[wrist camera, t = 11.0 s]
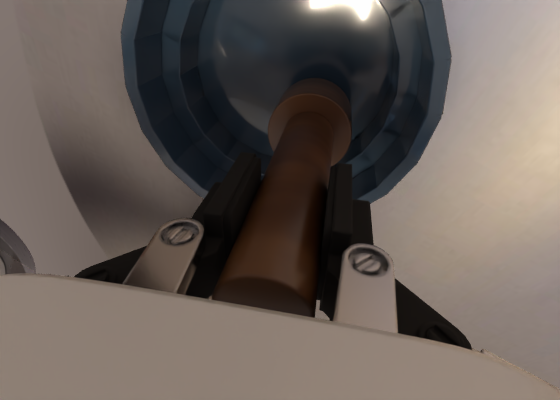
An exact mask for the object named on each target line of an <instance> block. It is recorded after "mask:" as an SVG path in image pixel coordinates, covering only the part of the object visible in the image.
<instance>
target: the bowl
mask: <svg viewBox="0 0 560 400" xmlns="http://www.w3.org/2000/svg"><path fill="white" fill-rule="evenodd" d="M121 44H122V55H123V66H124V77H125V85H126V89H127V92H128V95H129V97H130V100H131V103H132V105H133V108H134V111H135V114H136V116H137V119H138V122H139V124H140V127H141V130H142V132H143V133H144V135H145V136H146V138H147V139H148V141H149V142H150V143H151V145H152V146H153V148H154V149H155V151H156V152H157V154H158V155H159V157H160V158H161V160H162V161H163V162H164V164H165V165H166V167H168V169H170V170H171V171H172V172H173V173H174V174H175V175H176V176H177V177H178V178H179V179H181V180H182V181H183V182H184V183H185V184H186V185H187V186H188V187H189V188H191V189H192V190H193V191H194V192H195V193H196V194H197V195H199V196H200V197H202V198H205V197H206V195H207V194H208V192H209V191H210V189H211V188H212V186H213V185H214V183H215V182H222V181H223V180H224V178H225V177H226V175H227V173H228V172H229V170H230V169H231V167H232V165H233V164H234V162H235V161H236V159H237V157H238V156H239V154H240V153H241V152H246V153H255V154H256V157H257V158H261V181H262V179H263V177H264V174H265V172H266V170H267V167H268V165H269V163H270V161H271V158H272V156H273V154H274V152H273V150H272V148H271V146H270V143H269V139H268V124H269V120H270V117H271V115H272V113H273V111H274V110H275V108H276V106H277V104H278V103H279V101H280V99H281V97H282V96H283V94H284V93H285V91H286V90H287V89H288V88H289V87H290V86H292V85H293V84H295V83H296V82H298V81H301V80H304V79H308V78H321V79H325V80H328V81H330V82H332V83H334V84H336V85H337V86H338V87H339V88H341V89H342V91H343V92H344V93H345V94H346V96H347V98H348V100H349V102H350V106H351V114H352V136H351V142H350V146H349V148H348V150H347V152H346V154H345V155H344V156H343V158H342V159H341V160H340V161H339V162H337V163H343V164H352V199H357V200H365V201H369V202H370V204H371V203H372V202H374V201H376V200H378V199H380V198H381V197H383V196H385V195H387V194H388V193H389V192H390V191H391V190H392V189H393V187H394V186H395V185H396V184H397V183H398V182H399V181H400V180H401V179H402V178H403V177H404V176H405V175H406V174H407V173H408V172H409V171H410V170H411V169H412V168H413V167H414V166H415V165H416V164H417V163H418V161H419V160H420V158H421V156H422V154H423V152H424V150H425V148H426V146H427V144H428V142H429V140H430V139H431V137H432V135H433V133H434V131H435V129H436V127H437V125H438V123H439V121H440V119H441V117H442V116H441V115H442V114H443V109H444V103H445V97H446V90H447V84H448V78H449V72H450V66H451V57H452V56H451V50H450V44H449V38H448V33H447V27H446V21H445V15H444V9H443V4H442V0H127V5H126V10H125V15H124V19H123V24H122V29H121ZM337 163H336V164H335V165H333V166H336V167H337ZM330 170H331V167H330Z"/></svg>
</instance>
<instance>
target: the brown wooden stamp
mask: <svg viewBox="0 0 560 400" xmlns="http://www.w3.org/2000/svg"><path fill="white" fill-rule="evenodd" d="M351 136H352V114H351V106H350V102H349V100H348V98H347V96H346V94H345V93H344V92H343V91H342V89H341V88H339V87H338V86H337V85H336V84H334V83H332V82H330V81H328V80H325V79H321V78H308V79H304V80H301V81H298V82H296V83H295V84H293V85H292V86H290V87H289V88H288V89H287V90H286V91H285V93H284V94H283V96H282V97H281V99H280V101H279V103H278V104H277V106H276V108H275V110H274V111H273V113H272V115H271V117H270V120H269V124H268V139H269V143H270V146H271V148H272V150H273V152H274V154H273V156H272V158H271V161H270V163H269V165H268V167H267V170H266V172H265V174H264V177H263V179H262V181H261V183H260V186H259V188H258V190H257V193H256V195H255V197H254V199H253V202H252V204H251V206H250V209H249V211H248V213H247V215H246V218H245V220H244V222H243V225H242V227H241V229H240V231H239V234H238V236H237V238H236V240H235V243H234V245H233V247H232V250H231V252H230V254H229V256H228V259H227V261H226V263H225V266H224V268H223V270H222V272H221V275H220V277H219V279H218V282H217V284H216V286H215V288H214V291H213V294H212V300H216V301H222V302H228V303H233V304H239V305H245V306H250V307H256V308H262V309H268V310H273V311H279V312H285V313H290V314H296V315H301V316H307V317H312V318H315V309H316V300H317V291H318V281H319V272H320V255H321V246H322V237H323V227H324V218H325V209H326V200H327V191H328V184H329V177H330V167H331V166H333V165H335V164H336V163H337V162H339V161H340V160H341V159H342V158H343V156H344V155H345V154H346V152H347V150H348V148H349V146H350V142H351Z"/></svg>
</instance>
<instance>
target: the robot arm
mask: <svg viewBox="0 0 560 400" xmlns="http://www.w3.org/2000/svg"><path fill="white" fill-rule="evenodd" d="M260 183H261V158H257V157H256V154H255V153H246V152H241V153H240V154H239V156H238V157H237V159H236V161H235V162H234V164H233V165H232V167H231V169H230V170H229V172H228V173H227V175H226V177H225V178H224V180H223V181H222V182H215V183H214V185H213V186H212V188H211V189H210V191H209V192H208V194H207V195H206V197H205V198H204V200H203V201H202V203H201V204H200V206H199V207H198V209H197V210H196V212H195V213H194V215H193V216H192V218H191V219H190V218H179V219H174V220H171V221H169V222H167V223H165V224H163V225H162V226H161V227H160V228H159V229H158V230H157V232H156V233H155V235H154V236H153V238H152V239H151V241H150V242H149V244H148V245H147V246H145V247H143V248H140V249H137V250H134V251H132V252H129V253H126V254H123V255H121V256H118V257H115V258H112V259H110V260H107V261H104V262H102V263H99V264H96V265H93V266H91V267H89V268H86V269H85V270H82V271H81V272H79V273H78V274H77V275H75V277H69V276H60V275H51V274H34V273H21V274H5V266H4V263H3V261H2V259H1V257H0V400H560V389H559V388H557V387H555V386H553V385H552V384H550V383H548V382H546V381H544V380H542V379H540V378H538V377H536V376H535V375H533V374H531V373H529V372H527V371H525V370H523V369H521V368H519V367H517V366H516V365H514V364H512V363H510V362H508V361H506V360H504V359H502V358H500V357H498V356H497V355H495V354H493V353H491V352H489V351H487V350H485V349H482V350H481V351H480V352H479V351H478V350H476V349H474V348H472V347H471V344H470V343H469V341H468V340H467V338H466V337H465V335H464V334H462V333H461V332H460V331H459V330H458V329H457V328H456V327H455V326H454V325H452V324H451V323H450V322H449V321H447V320H446V319H445V318H444V317H442V316H441V315H440V314H439V313H437V312H436V311H435V310H434V309H432V308H431V307H430V306H429V305H427V304H426V303H425V302H424V301H422V300H421V299H420V298H419V297H418V296H416V295H415V294H414V293H413V292H411V291H410V290H409V289H408V288H406V287H405V286H404V285H403V284H401V283H400V282H399V281H398V280H396V279H395V273H394V264H393V260H392V258H391V257H390V256H389V254H388V253H386V252H385V251H384V250H383V249H381V248H379V247H377V246H374V245H373V234H372V222H371V210H370V202H369V201H365V200H357V199H352V164H343V163H337V167H336V166H331V170H330V177H329V184H328V191H327V200H326V209H325V218H324V227H323V237H322V246H321V255H320V272H319V281H318V291H317V300H320V310H321V311H323V312H324V313H325V314H326V315H327V316H328V317H329V318H330V321H329V320H323V319H318V318H312V317H307V316H301V315H296V314H290V313H285V312H279V311H273V310H268V309H262V308H256V307H250V306H245V305H239V304H233V303H228V302H222V301H216V300H212V294H213V291H214V288H215V286H216V284H217V282H218V279H219V277H220V275H221V272H222V270H223V268H224V266H225V263H226V261H227V259H228V256H229V254H230V252H231V250H232V247H233V245H234V243H235V240H236V238H237V236H238V234H239V231H240V229H241V227H242V225H243V222H244V220H245V218H246V215H247V213H248V211H249V209H250V206H251V204H252V202H253V199H254V197H255V195H256V193H257V190H258V188H259V186H260Z"/></svg>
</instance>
